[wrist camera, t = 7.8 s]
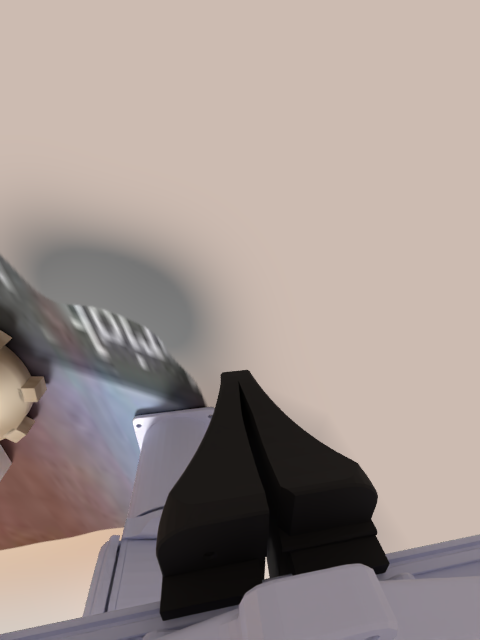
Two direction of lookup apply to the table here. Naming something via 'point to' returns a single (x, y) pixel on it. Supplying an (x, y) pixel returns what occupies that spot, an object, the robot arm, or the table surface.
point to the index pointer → (4, 462)
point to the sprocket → (16, 393)
